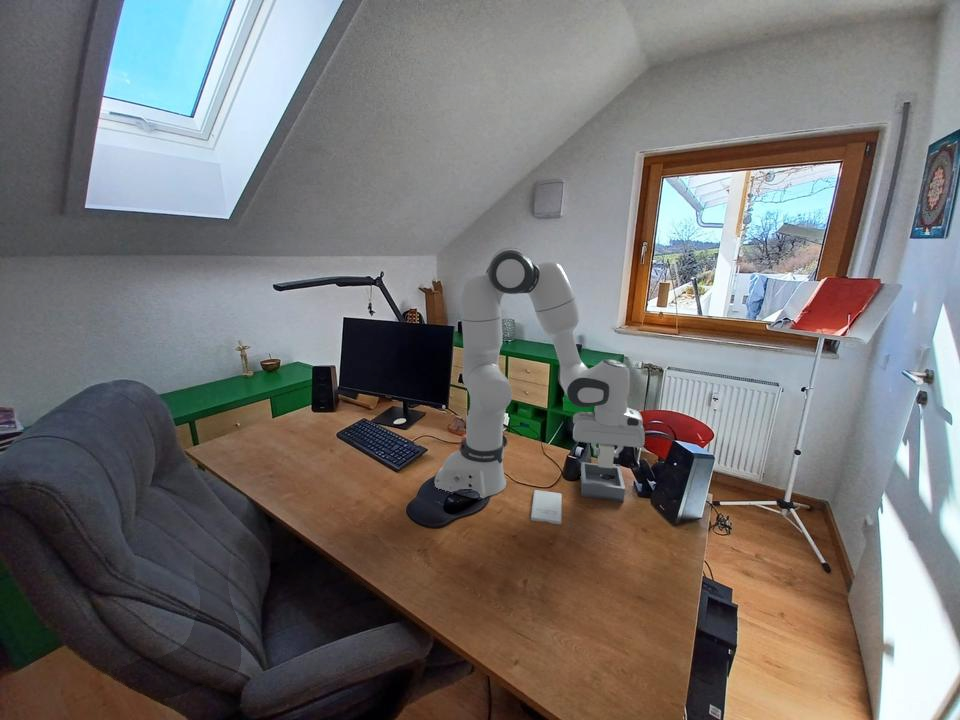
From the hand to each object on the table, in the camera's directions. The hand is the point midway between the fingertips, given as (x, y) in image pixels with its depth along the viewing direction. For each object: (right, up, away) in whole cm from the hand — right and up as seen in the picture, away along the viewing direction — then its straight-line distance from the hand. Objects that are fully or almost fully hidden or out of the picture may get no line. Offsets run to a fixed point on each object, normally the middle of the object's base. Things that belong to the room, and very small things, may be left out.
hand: (605, 455), depth 117 cm
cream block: (0, -3, +1) cm, 3 cm away
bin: (-1, -11, +3) cm, 11 cm away
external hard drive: (-19, -14, -6) cm, 24 cm away
